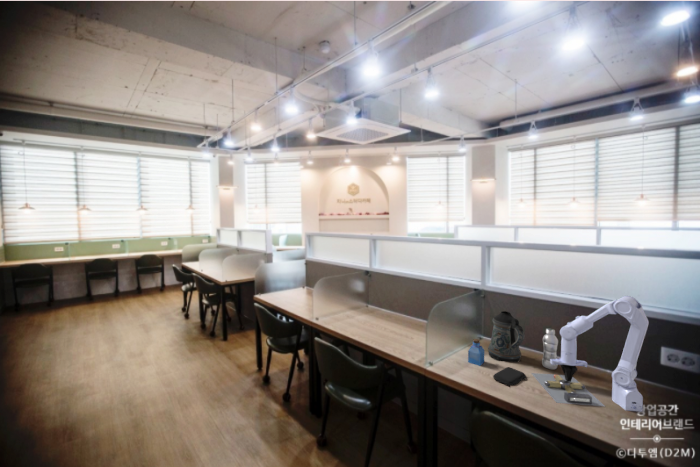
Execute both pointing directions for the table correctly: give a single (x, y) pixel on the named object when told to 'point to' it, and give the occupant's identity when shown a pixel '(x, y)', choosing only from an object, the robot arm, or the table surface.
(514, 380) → the carrying case or bag
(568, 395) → the level window
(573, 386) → the cam capstan
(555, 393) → the level board
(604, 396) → the table surface
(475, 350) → the perfume bottle
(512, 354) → the beer stein
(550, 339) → the plastic bottle
